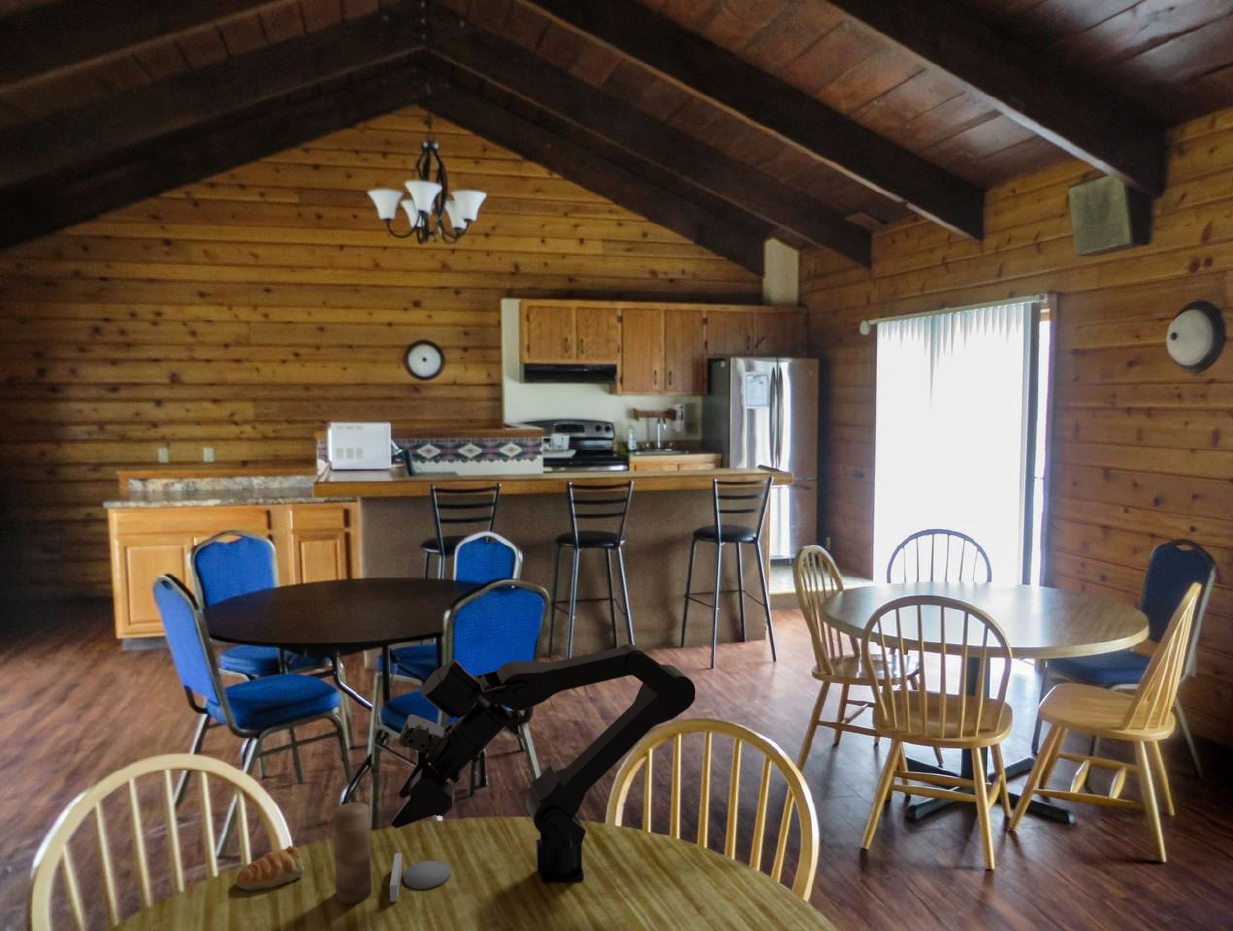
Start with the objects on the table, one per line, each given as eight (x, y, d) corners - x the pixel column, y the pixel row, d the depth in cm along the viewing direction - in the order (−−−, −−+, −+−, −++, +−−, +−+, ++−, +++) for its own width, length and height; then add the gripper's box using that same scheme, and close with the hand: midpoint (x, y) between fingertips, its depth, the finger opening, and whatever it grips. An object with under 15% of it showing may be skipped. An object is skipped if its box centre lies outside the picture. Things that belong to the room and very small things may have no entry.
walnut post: (373, 882, 134) (370, 801, 133) (369, 902, 129) (366, 817, 128) (339, 886, 133) (336, 803, 132) (334, 905, 128) (330, 820, 127)
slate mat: (450, 861, 140) (450, 858, 140) (449, 886, 133) (449, 883, 133) (405, 865, 139) (405, 862, 139) (402, 891, 132) (401, 887, 132)
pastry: (245, 900, 130) (243, 876, 129) (230, 881, 135) (229, 857, 135) (308, 877, 136) (306, 853, 136) (292, 859, 141) (291, 837, 141)
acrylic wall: (401, 867, 138) (401, 852, 138) (397, 901, 129) (396, 884, 129) (395, 868, 138) (394, 853, 138) (390, 901, 129) (389, 885, 129)
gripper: (436, 678, 139) (366, 749, 139) (426, 723, 121) (345, 805, 120) (487, 723, 141) (418, 794, 140) (485, 775, 122) (405, 856, 122)
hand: (397, 810), depth 131 cm, fingers open, 9 cm apart
